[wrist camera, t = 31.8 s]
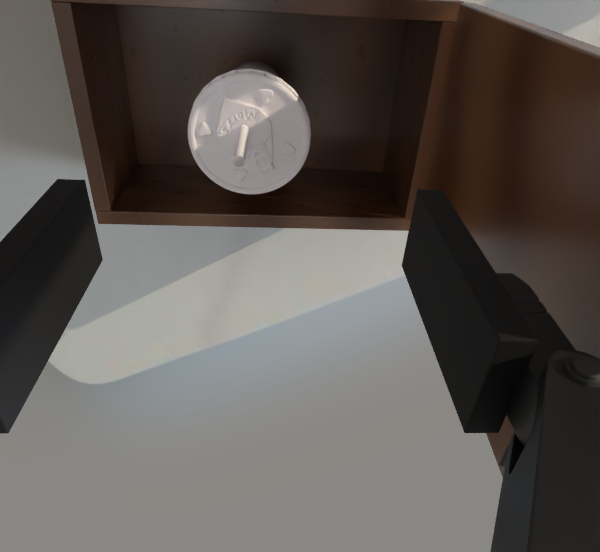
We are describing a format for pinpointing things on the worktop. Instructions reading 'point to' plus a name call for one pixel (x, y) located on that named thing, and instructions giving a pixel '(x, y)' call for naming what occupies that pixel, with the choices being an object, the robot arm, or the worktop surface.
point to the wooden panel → (525, 163)
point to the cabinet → (292, 69)
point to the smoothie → (249, 130)
